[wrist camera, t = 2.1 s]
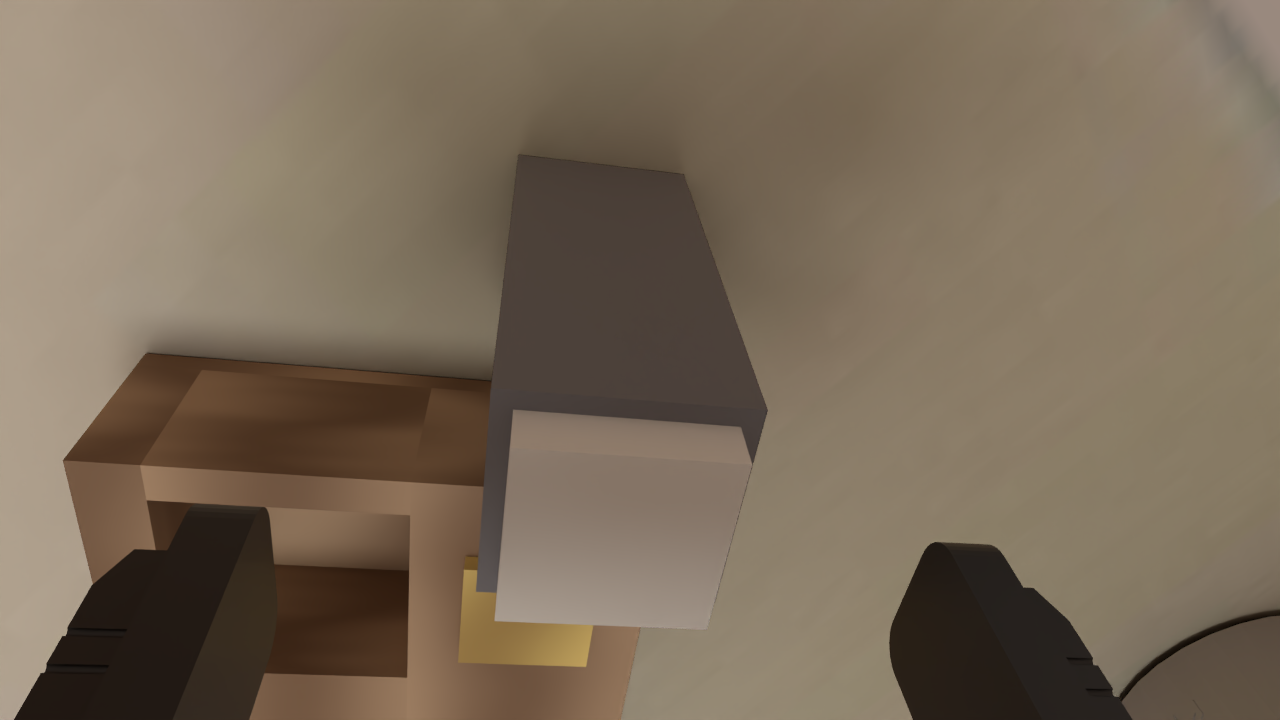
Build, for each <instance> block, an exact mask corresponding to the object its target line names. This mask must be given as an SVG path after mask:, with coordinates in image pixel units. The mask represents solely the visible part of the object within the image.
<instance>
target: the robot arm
mask: <svg viewBox="0 0 1280 720" xmlns="http://www.w3.org/2000/svg"><path fill="white" fill-rule="evenodd" d="M277 609H278V601H277V589H276V578H275V567H274V557H273V546H272V536H271V525H270V517H269V513H268V510H267V509H266V508H265V507H255V506H235V505H215V504H194V505H192V506H191V507H190V508H189V510H188V511H187V513H186V515H185V516H184V518H183V520H182V522H181V524H180V526H179V528H178V530H177V532H176V534H175V536H174V538H173V540H172V542H171V544H170V546H169V548H168V550H145V549H134V550H133V551H132V552H130V553H129V554H128V555H127V556H126V557H124V558H123V559H122V560H121V561H120V562H119V563H117V564H116V565H115V566H114V567H113V568H111V569H110V570H109V571H108V572H107V573H106V574H104V575H103V576H102V577H101V578H100V579H98V580H97V581H96V582H95V583H94V584H93V585H92V586H91V588H90V590H89V591H88V593H87V595H86V597H85V598H84V600H83V602H82V603H81V605H80V607H79V609H78V610H77V612H76V614H75V615H74V617H73V619H72V621H71V622H70V624H69V626H68V631H67V635H66V636H62V638H61V640H60V641H59V643H58V645H57V646H56V648H55V650H54V652H53V653H52V655H51V657H50V658H49V660H48V662H47V668H46V671H45V673H41V674H40V676H39V677H38V679H37V681H36V683H35V684H34V686H33V688H32V689H31V691H30V693H29V695H28V696H27V698H26V700H25V702H24V703H23V705H22V707H21V708H20V710H19V712H18V714H17V715H16V717H15V719H14V720H249V719H250V716H251V713H252V710H253V707H254V704H255V701H256V697H257V694H258V691H259V688H260V685H261V682H262V679H263V676H264V673H265V670H266V667H267V663H268V660H269V657H270V654H271V650H272V646H273V641H274V636H275V630H276V622H277ZM889 644H890V658H891V663H892V667H893V671H894V673H895V676H896V679H897V681H898V684H899V686H900V689H901V691H902V693H903V696H904V698H905V701H906V703H907V706H908V708H909V711H910V713H911V716H912V718H913V720H1280V616H1271V617H1266V618H1262V619H1257V620H1253V621H1249V622H1245V623H1241V624H1237V625H1235V626H1232V627H1229V628H1227V629H1224V630H1221V631H1218V632H1216V633H1213V634H1210V635H1208V636H1206V637H1204V638H1202V639H1200V640H1198V641H1196V642H1194V643H1192V644H1190V645H1188V646H1186V647H1184V648H1182V649H1181V650H1179V651H1178V652H1176V653H1175V654H1173V655H1172V656H1170V657H1169V658H1167V659H1166V660H1164V661H1163V662H1161V663H1159V664H1158V665H1157V666H1156V667H1154V668H1153V669H1152V670H1151V671H1150V672H1149V673H1148V674H1146V675H1145V676H1144V677H1143V678H1142V679H1141V680H1140V681H1138V682H1137V684H1136V685H1135V686H1134V687H1133V688H1132V690H1131V691H1130V692H1129V693H1128V694H1127V696H1126V697H1125V698H1124V699H1123V701H1122V702H1121V701H1120V699H1119V698H1118V697H1114V696H1113V694H1112V690H1113V688H1112V687H1111V685H1110V684H1109V682H1108V681H1107V679H1106V678H1105V676H1104V674H1103V673H1102V671H1101V670H1100V668H1099V667H1098V666H1094V665H1093V662H1092V660H1093V657H1092V656H1091V654H1090V653H1089V651H1088V650H1087V648H1086V647H1085V645H1084V643H1083V642H1082V640H1081V639H1080V637H1079V636H1078V634H1077V633H1076V631H1075V630H1074V628H1073V626H1072V625H1071V623H1070V622H1069V621H1068V620H1067V619H1066V618H1065V617H1064V616H1063V615H1062V614H1061V613H1060V612H1059V611H1058V610H1057V609H1055V608H1054V607H1053V606H1052V605H1051V604H1050V603H1049V602H1048V601H1047V600H1046V599H1045V598H1043V597H1042V596H1041V595H1040V594H1039V593H1038V592H1037V591H1036V590H1035V589H1034V588H1023V586H1022V585H1021V583H1020V582H1019V580H1018V578H1017V577H1016V575H1015V573H1014V572H1013V570H1012V569H1011V567H1010V565H1009V564H1008V562H1007V560H1006V559H1005V557H1004V556H1003V554H1002V553H1001V552H1000V551H999V550H998V549H997V548H996V547H994V546H992V545H984V544H963V543H943V542H934V543H932V544H930V545H929V546H928V547H927V548H926V549H925V551H924V553H923V555H922V557H921V559H920V561H919V564H918V566H917V568H916V571H915V573H914V575H913V577H912V580H911V582H910V584H909V586H908V589H907V591H906V593H905V595H904V598H903V600H902V602H901V604H900V607H899V609H898V611H897V613H896V616H895V618H894V620H893V623H892V626H891V631H890V642H889Z"/></svg>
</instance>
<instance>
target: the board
mask: <svg viewBox="0 0 1280 720" xmlns="http://www.w3.org/2000/svg"><path fill="white" fill-rule="evenodd" d="M491 383H492V381H481V380H469V379H456V378H444V377H431V376H419V375H407V374H394V373H382V372H369V371H357V370H344V369H332V368H320V367H307V366H295V365H282V364H270V363H258V362H245V361H233V360H220V359H208V358H195V357H183V356H171V355H158V354H145V355H144V356H143V358H142V359H141V360H140V362H139V363H138V364H137V365H136V367H135V368H134V369H133V371H132V372H131V373H130V374H129V376H128V377H127V378H126V380H125V381H124V382H123V384H122V385H121V386H120V387H119V389H118V390H117V391H116V393H115V394H114V395H113V396H112V398H111V399H110V400H109V402H108V403H107V404H106V405H105V407H104V408H103V409H102V411H101V412H100V413H99V415H98V416H97V417H96V418H95V420H94V421H93V422H92V424H91V425H90V426H89V427H88V429H87V430H86V431H85V433H84V434H83V435H82V436H81V438H80V439H79V440H78V442H77V443H76V444H75V446H74V447H73V448H72V449H71V451H70V452H69V453H68V455H67V456H66V457H65V458H64V460H63V463H64V467H65V471H66V475H67V479H68V483H69V488H70V492H71V496H72V500H73V504H74V508H75V512H76V516H77V520H78V524H79V529H80V533H81V537H82V541H83V545H84V549H85V553H86V557H87V561H88V566H89V570H90V574H91V578H92V582H93V584H94V583H95V582H96V581H97V580H98V579H100V578H101V577H102V576H103V575H104V574H106V573H107V572H108V571H109V570H110V569H111V568H113V567H114V566H115V565H116V564H117V563H119V562H120V561H121V560H122V559H123V558H124V557H126V556H127V555H128V554H129V553H130V552H132V551H133V550H134V549H145V550H168V548H169V546H170V544H171V542H172V540H173V538H174V536H175V534H176V532H177V530H178V528H179V526H180V524H181V522H182V520H183V518H184V516H185V515H186V513H187V511H188V510H189V508H190V507H191V506H192V505H194V504H215V505H235V506H255V507H265V508H266V509H267V510H268V513H269V517H270V525H271V536H272V546H273V557H274V567H275V578H276V589H277V601H278V609H277V622H276V630H275V636H274V641H273V646H272V650H271V654H270V657H269V660H268V663H267V667H266V670H265V673H264V676H263V679H262V682H261V685H260V688H259V691H258V694H257V697H256V701H255V704H254V707H253V710H252V713H251V716H250V719H249V720H620V719H621V715H622V710H623V706H624V701H625V696H626V692H627V687H628V683H629V678H630V673H631V669H632V664H633V660H634V655H635V650H636V646H637V641H638V637H639V632H640V627H625V626H600V625H576V624H551V623H526V622H502V621H494V620H495V608H496V595H497V593H489V592H476V583H477V570H478V556H479V542H480V529H481V515H482V502H483V488H484V474H485V461H486V447H487V434H488V420H489V407H490V393H491Z"/></svg>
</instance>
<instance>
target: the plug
mask: <svg viewBox="0 0 1280 720" xmlns="http://www.w3.org/2000/svg"><path fill="white" fill-rule="evenodd" d="M767 411H768V410H767V407H766V404H765V401H764V398H763V396H762V393H761V390H760V387H759V384H758V382H757V379H756V376H755V373H754V370H753V368H752V365H751V362H750V359H749V356H748V354H747V351H746V348H745V345H744V342H743V340H742V337H741V334H740V331H739V328H738V326H737V323H736V320H735V317H734V314H733V312H732V309H731V306H730V303H729V300H728V298H727V295H726V292H725V289H724V286H723V284H722V281H721V278H720V275H719V272H718V270H717V267H716V264H715V261H714V258H713V256H712V253H711V250H710V247H709V244H708V242H707V239H706V236H705V233H704V230H703V228H702V225H701V222H700V219H699V216H698V214H697V211H696V208H695V205H694V202H693V200H692V197H691V194H690V191H689V188H688V186H687V183H686V180H685V177H684V174H676V173H667V172H659V171H650V170H642V169H634V168H625V167H617V166H608V165H600V164H592V163H583V162H575V161H567V160H558V159H550V158H541V157H533V156H525V155H518V163H517V171H516V180H515V188H514V197H513V205H512V214H511V222H510V230H509V239H508V247H507V256H506V264H505V273H504V281H503V290H502V298H501V307H500V315H499V324H498V332H497V340H496V349H495V357H494V366H493V374H492V383H491V393H490V407H489V420H488V434H487V447H486V461H485V474H484V488H483V502H482V515H481V529H480V542H479V556H478V570H477V583H476V592H489V593H497V595H496V608H495V620H494V621H502V622H526V623H551V624H576V625H600V626H625V627H650V628H674V629H699V630H707V628H708V624H709V621H710V617H711V613H712V610H713V606H714V603H715V600H716V596H717V593H718V589H719V585H720V582H721V578H722V575H723V571H724V567H725V564H726V560H727V556H728V553H729V549H730V545H731V542H732V538H733V535H734V531H735V527H736V524H737V520H738V516H739V513H740V509H741V505H742V502H743V498H744V495H745V491H746V487H747V484H748V480H749V476H750V473H751V469H752V465H753V462H754V458H755V455H756V451H757V447H758V444H759V440H760V436H761V433H762V429H763V425H764V422H765V418H766V415H767Z"/></svg>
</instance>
